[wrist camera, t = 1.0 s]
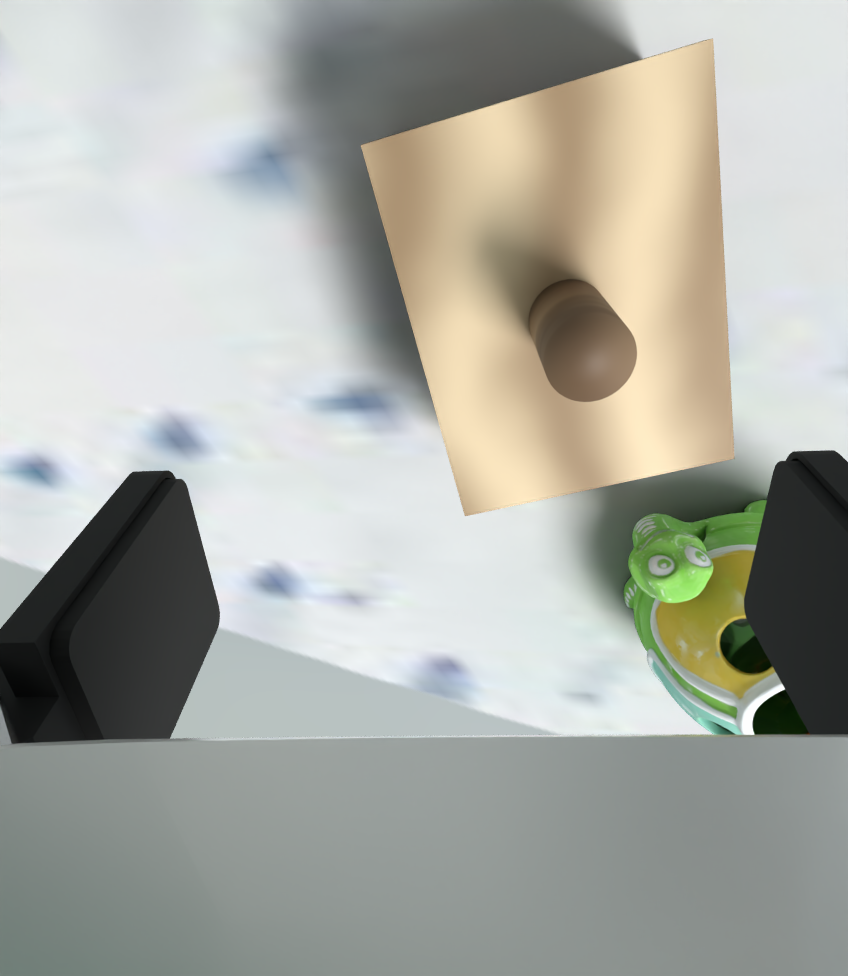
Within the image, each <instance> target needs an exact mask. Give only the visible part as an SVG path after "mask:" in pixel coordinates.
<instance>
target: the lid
mask: <svg viewBox="0 0 848 976" xmlns="http://www.w3.org/2000/svg"><path fill="white" fill-rule="evenodd" d="M361 148H362V152H363V155H364V159H365V162H366V166H367V170H368V173H369V177H370V180H371V184H372V187H373V191H374V194H375V198H376V202H377V205H378V209H379V212H380V216H381V219H382V223H383V226H384V230H385V234H386V237H387V241H388V244H389V248H390V251H391V255H392V258H393V262H394V266H395V269H396V273H397V276H398V280H399V283H400V287H401V290H402V294H403V297H404V301H405V305H406V308H407V312H408V315H409V319H410V322H411V326H412V329H413V333H414V337H415V340H416V344H417V347H418V351H419V354H420V358H421V361H422V365H423V369H424V372H425V376H426V379H427V383H428V386H429V390H430V393H431V397H432V400H433V404H434V408H435V411H436V415H437V418H438V422H439V425H440V429H441V432H442V436H443V440H444V443H445V447H446V450H447V454H448V457H449V461H450V464H451V468H452V472H453V475H454V479H455V482H456V486H457V489H458V493H459V496H460V500H461V504H462V507H463V511H464V514H465V516H468V515H473V514H478V513H482V512H487V511H492V510H496V509H501V508H506V507H510V506H515V505H520V504H525V503H529V502H534V501H539V500H543V499H548V498H553V497H557V496H562V495H567V494H571V493H576V492H581V491H585V490H590V489H595V488H600V487H604V486H609V485H614V484H618V483H623V482H628V481H632V480H637V479H642V478H646V477H651V476H656V475H660V474H665V473H670V472H674V471H679V470H684V469H689V468H693V467H698V466H703V465H707V464H712V463H717V462H721V461H726V460H731V459H734V440H733V421H732V401H731V381H730V362H729V342H728V322H727V303H726V283H725V263H724V244H723V224H722V204H721V185H720V165H719V146H718V126H717V106H716V87H715V67H714V47H713V39H709V40H704V41H701V42H697V43H694V44H691V45H687V46H684V47H681V48H678V49H674V50H671V51H668V52H664V53H661V54H658V55H654V56H651V57H648V58H645V59H641V60H638V61H635V62H631V63H628V64H625V65H622V66H618V67H615V68H612V69H608V70H605V71H602V72H599V73H595V74H592V75H589V76H585V77H582V78H579V79H575V80H572V81H569V82H566V83H562V84H559V85H556V86H552V87H549V88H546V89H543V90H539V91H536V92H533V93H529V94H526V95H523V96H519V97H516V98H513V99H510V100H506V101H503V102H500V103H496V104H493V105H490V106H487V107H483V108H480V109H477V110H473V111H470V112H467V113H464V114H460V115H457V116H454V117H450V118H447V119H444V120H440V121H437V122H434V123H431V124H427V125H424V126H421V127H417V128H414V129H411V130H408V131H404V132H401V133H398V134H394V135H391V136H388V137H385V138H381V139H378V140H375V141H371V142H368V143H365V144H362V145H361Z"/></svg>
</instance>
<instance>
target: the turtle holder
mask: <svg viewBox="0 0 848 976" xmlns="http://www.w3.org/2000/svg"><path fill="white" fill-rule="evenodd" d="M766 502H767V500H759V501H755V502H752V503H750V504H749V505H748V506H747V507H746V508H745V509H744V513H732V514H726V515H721V516H716V517H711V518H708V519H704V520H700V521H696V522H683V521H681V520H678V519H676V518H673V517H671V516H669V515H666V514H658V513H653V514H650V515H647V516H645V517H643V518H642V519H640V520H639V521H638V522H637V523H636V525H635V527H634V529H633V533H632V538H633V545H634V549H633V550H632V551H631V553H630V555H629V559H628V566H629V570H630V573H631V575H632V576H631V577H630V578H629V580H628V581H627V583H626V584H625V587H624V601H625V603H626V605H627V606H628V607H629V608H632V609H634V621H635V626H636V629H637V632H638V635H639V637H640V640H641V642H642V644H643V646H644V648H645V649H646V651H647V661H648V664H649V666H650V668H651V670H652V672H653V673H654V675H655V676H656V677H657V679H658V680H659V681H660V682H661V683H662V684H663V685H664V686H665V688H666V689H667V690H668V692H669V693H670V695H671V696H672V697H673V698H674V700H675V701H676V702H677V703H678V704H679V705H680V706H681V708H682V709H683V710H684V711H685V712H686V713H687V714H688V715H690V716H691V717H692V718H693V719H694V720H695V721H696V722H697V723H699V724H700V725H701V726H703V727H704V728H705V729H707V730H708V731H709V732H711V733H712V734H714V735H810V734H809V732H808V730H807V728H806V726H805V724H804V723H803V721H802V719H801V717H800V715H799V714H798V712H797V710H796V708H795V706H794V704H793V703H792V701H791V699H790V697H789V695H788V694H787V692H786V690H785V688H784V686H783V684H782V683H781V681H780V679H779V677H778V675H777V674H776V672H775V670H774V668H773V666H772V664H771V663H770V661H769V659H768V657H767V655H766V654H765V652H764V650H763V648H762V646H761V644H760V643H759V641H758V639H757V637H756V635H755V634H754V632H753V630H752V628H751V626H750V624H749V623H748V621H747V618H746V615H745V610H744V597H745V592H746V588H747V583H748V579H749V575H750V571H751V566H752V562H753V558H754V553H755V549H756V545H757V540H758V536H759V532H760V528H761V523H762V519H763V515H764V510H765V506H766Z"/></svg>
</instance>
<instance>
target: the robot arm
mask: <svg viewBox="0 0 848 976" xmlns="http://www.w3.org/2000/svg"><path fill="white" fill-rule="evenodd" d="M744 610H745V615H746V618H747V621H748V623H749V624H750V626H751V628H752V630H753V632H754V634H755V635H756V637H757V639H758V641H759V643H760V644H761V646H762V648H763V650H764V652H765V654H766V655H767V657H768V659H769V661H770V663H771V664H772V666H773V668H774V670H775V672H776V674H777V675H778V677H779V679H780V681H781V683H782V684H783V686H784V688H785V690H786V692H787V694H788V695H789V697H790V699H791V701H792V703H793V704H794V706H795V708H796V710H797V712H798V714H799V715H800V717H801V719H802V721H803V723H804V724H805V726H806V728H807V730H808V732H809V734H810V735H502V736H501V735H500V736H499V735H498V736H497V735H494V736H493V735H488V736H487V735H486V736H364V737H362V736H360V737H359V736H358V737H280V738H279V737H274V738H273V737H272V738H271V737H270V738H190V739H188V738H184V739H170V737H171V734H172V732H173V730H174V728H175V726H176V723H177V721H178V719H179V716H180V714H181V712H182V709H183V707H184V705H185V703H186V700H187V698H188V696H189V693H190V691H191V689H192V686H193V684H194V682H195V679H196V677H197V675H198V672H199V670H200V668H201V666H202V664H203V661H204V659H205V657H206V654H207V652H208V650H209V648H210V645H211V643H212V640H213V638H214V636H215V634H216V631H217V629H218V626H219V619H220V611H219V605H218V601H217V597H216V594H215V590H214V586H213V582H212V579H211V575H210V571H209V567H208V564H207V560H206V556H205V552H204V549H203V545H202V541H201V537H200V534H199V530H198V526H197V522H196V518H195V515H194V511H193V507H192V503H191V500H190V496H189V492H188V488H187V486H186V483H185V482H184V481H183V480H182V479H176V478H175V476H174V475H173V473H172V472H170V471H142V472H132V473H131V474H130V475H129V476H128V477H127V478H126V479H125V481H124V482H123V483H122V484H121V485H120V487H119V488H118V489H117V490H116V491H115V493H114V494H113V495H112V496H111V497H110V498H109V500H108V501H107V502H106V503H105V504H104V506H103V507H102V508H101V509H100V510H99V512H98V513H97V514H96V515H95V516H94V518H93V519H92V520H91V521H90V522H89V524H88V525H87V526H86V527H85V528H84V530H83V531H82V532H81V533H80V534H79V536H78V537H77V538H76V539H75V540H74V541H73V543H72V544H71V545H70V546H69V547H68V549H67V550H66V551H65V552H64V553H63V555H62V556H61V557H60V558H59V559H58V561H57V562H56V563H55V564H54V565H53V567H52V568H51V569H50V570H49V571H48V573H47V574H46V575H45V576H44V577H43V579H42V580H41V581H40V582H39V583H38V585H37V586H36V587H35V588H34V589H33V590H32V592H31V593H30V594H29V595H28V597H27V598H26V599H25V600H24V601H23V603H22V604H21V605H20V606H19V607H18V608H17V610H16V611H15V612H14V613H13V615H12V616H11V617H10V618H9V619H8V620H7V622H6V623H5V624H4V625H3V626H2V628H1V629H0V976H848V462H847V461H846V460H845V459H844V458H843V457H842V456H841V455H840V454H839V453H837V452H835V451H797V452H792V453H791V454H790V455H789V456H788V458H787V459H786V461H780V462H778V463H777V465H776V466H775V469H774V472H773V476H772V480H771V484H770V489H769V493H768V497H767V502H766V506H765V510H764V515H763V519H762V523H761V528H760V532H759V536H758V540H757V545H756V549H755V553H754V558H753V562H752V566H751V571H750V575H749V579H748V583H747V588H746V592H745V597H744Z"/></svg>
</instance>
